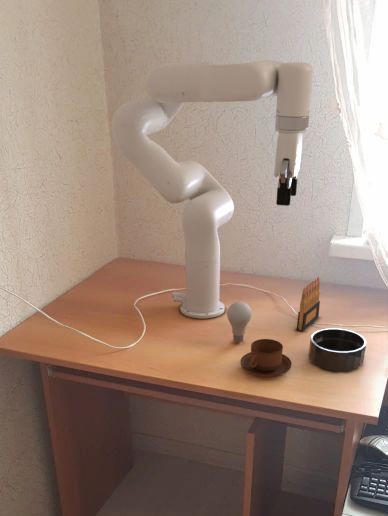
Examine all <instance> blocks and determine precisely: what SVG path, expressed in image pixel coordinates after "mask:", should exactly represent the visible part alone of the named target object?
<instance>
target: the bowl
mask: <svg viewBox="0 0 388 516" xmlns="http://www.w3.org/2000/svg"><path fill="white" fill-rule="evenodd" d="M366 348H367V340H366V338H365V337H364V336H363V335H362V334H359V333H357V332H356V331H353V330H349V329H344V328H339V327H338V328H335V327H334V328H331V327H330V328H323V329H318V330H316V331H314V332H313V333H312V334H311V335H310V339H309V348H308V358H309V360H310V361H311V362H312V364H313V365H315V367H317V368H319V369H321V370H324V371H328V372H332V373H333V372H334V373H346V372H352V371H354V370H355V371H356V370H357V369H358V368H359V367H361V366H362V365H363V364H364V360H365V355H366V350H367V349H366Z"/></svg>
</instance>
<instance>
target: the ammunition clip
mask: <svg viewBox="0 0 388 516" xmlns="http://www.w3.org/2000/svg"><path fill="white" fill-rule="evenodd" d="M320 287H321V281H320V276H317V277H316V278H315V279H314V280H312V281H311V282H309V283H308V284H307V285H306V286H304V288H303V290H302V293H301V298H300V302H299V303H300V304H299V311H298V312H297V323H296V331H299V332H304V331H306V329H308V328H309V327H310V326H311V325H312V324H313V323H315V322H316V321H317V320H319V315H320V307H321V306H320V303H321V301H320V296H321V295H320V294H321V289H320Z"/></svg>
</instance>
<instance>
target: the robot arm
mask: <svg viewBox="0 0 388 516" xmlns="http://www.w3.org/2000/svg"><path fill="white" fill-rule="evenodd" d="M313 77H314V69H313V66H312V65H311V64H310V63H308V62H300V61H299V62H295V61H293V62H280V61H277V60H270V59H266V60H265V59H264V60H257V61H252V62H242V63H228V64H227V63H225V64H214V63H212V62H210V61H193V62H169V63H162V64H158V65H156V66H154V67H152V68H151V69H150V70H149V72H148V73H147V75H146V78H145V89H146V92H147V94H148V95H149V96H148V97H147V98H143V99H138V100H133V101H128V102H126V103H123V104H122V105H121V106H120V107H119V108H117V109H116V110H115V112H114V114H113V116H112V117H113V118H112V121H111V133H112V137H113V141H114V143H115V146H116V147H117V149H118V151H119V152H120V154H121V155H122V156H123V157H124V158H125V159H126V160H127V161H128V162H129V163H130V164H131V165H132V166H133V167H134V168H135V169H136V170H137V171H139V173H140V174H141V175H142V176H143V178H144V179H145V180H146V181H147V182H148V183H149V184H150V185H151V187H152V188H154V190H156V192H157V193H158V194H160V196H161V197H162V198H163V199H164V200H165V201H167V202H168V203H170V204H173V205H174V204H180V203H183V202H185V201H187V200H189V201H188V202H187V203H186V205H185V206H184V207H183V210H182V212H181V226H182V227H181V228H182V232H183V238H184V239H183V240H184V259H185V261H184V262H185V267H184V268H185V269H184V270H185V291H184V292H177V291H173V292H172V293H171V294H172V295H171V298H172V301H173V302H176V303H181V304H180V305H179V306H180V307H179V310H180V312H181V314H183V315H184V316H185V317H189V318H192V319H202V320H203V319H212V318H217V317H219V316H221V315H222V314H224V313H225V309H226V307H225V304H224V303H223V302H222V301H220V294H221V293H220V288H221V287H220V285H221V284H220V283H221V242H220V239H219V234H218V229H219V228H220V227H221V226H223V225H225V224H227V222H229V221H230V220H231V219H232V217H233V215H234V213H235V212H234V211H235V205H234V200H233V199H232V196H231V195H230V194H229V193H228V191H227V190H226V188H224V187H223V185H221V183H220V182H219V181H218V180H217V179H216V178H215V177H214V175H212V174H211V173H210V172H209V170H207V168H205V167H204V166H203V165H202V164H200V163H199V162H198V161H195V160H191V159H188V160H187V159H186V160H185V159H184V160H182V161H176V160H175V159H173V157H172V156H170V154H169V153H168V152H167V151H166V150H165V149H164V148H163V146H161V145H160V144H158V142H155V141H154V140H152V139H151V138H150V137H148V136H149V135H152V134H156V133H159V132H161V131H163V130H164V129H165V128H166V127H167V126H168V125H169V124H170V122H172V120H173V119H174V118H175V116H176V115H177V114H178V112H179V111H180V110H181V108H182V107H183V106H184V105H185V103H216V102H217V103H230V102H231V103H233V102H254V101H258V100H262V99H267V98H270V97H276V109H275V110H276V111H275V123H274V125H275V126H274V127H275V128H274V131H275V132H278V134H277V140H276V149H275V159H274V168H273V169H274V170H273V176H274V177H275V178H278V182H277V189H276V200H275V201H276V202H275V204H276V205H277V206H285V207H286V206H287V207H289V206H290V205H291V199H292V197H295V196H297V190H298V173H299V171H300V167H301V159H302V151H303V138H304V137H303V136H304V133H307V132H309V123H310V111H311V99H312V89H313V79H314V78H313Z"/></svg>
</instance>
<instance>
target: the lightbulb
mask: <svg viewBox="0 0 388 516" xmlns="http://www.w3.org/2000/svg"><path fill="white" fill-rule="evenodd" d="M226 311H227V312H226V317H227V320H228V322H229V324H230V326H231V331H232V332H231V333H232V335H233V336H232V337H233V342H234V343H236V344H240V343H243V342H244V338H245V337H244V336H245V333H246V328H247V326H248V324H249V322H250V321H251V319H252V316H253V315H252V313H253V312H252V309H251V307H250V306H249V305H248V304H247V303H246V302H244V301H236V302H233V303H232V304H230V305H229V307H228V309H227V310H226Z"/></svg>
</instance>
